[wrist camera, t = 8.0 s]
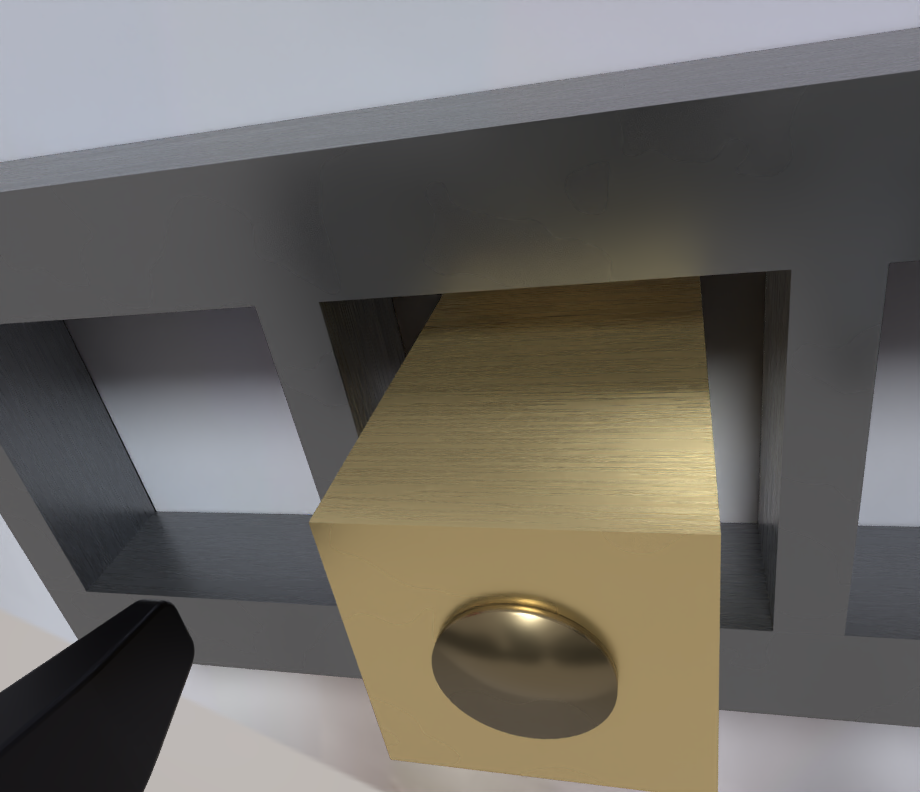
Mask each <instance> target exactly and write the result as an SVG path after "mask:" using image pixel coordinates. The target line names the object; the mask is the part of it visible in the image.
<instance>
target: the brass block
mask: <svg viewBox="0 0 920 792" xmlns="http://www.w3.org/2000/svg"><path fill="white" fill-rule="evenodd" d="M309 525H310V528H311V531H312V534H313V537H314V540H315V543H316V545H317V548H318V551H319V554H320V557H321V560H322V563H323V566H324V569H325V571H326V574H327V577H328V580H329V583H330V586H331V589H332V592H333V595H334V597H335V600H336V603H337V606H338V609H339V612H340V615H341V618H342V621H343V623H344V626H345V629H346V632H347V635H348V638H349V641H350V644H351V646H352V649H353V652H354V655H355V658H356V661H357V664H358V667H359V670H360V672H361V675H362V678H363V681H364V684H365V687H366V690H367V693H368V696H369V698H370V701H371V704H372V707H373V710H374V713H375V716H376V719H377V722H378V724H379V727H380V730H381V733H382V736H383V739H384V742H385V745H386V748H387V750H388V753H389V756H390V759H391V760H399V761H407V762H415V763H423V764H431V765H439V766H448V767H456V768H464V769H472V770H480V771H488V772H496V773H504V774H513V775H521V776H529V777H537V778H545V779H553V780H561V781H570V782H578V783H586V784H594V785H602V786H610V787H618V788H626V789H635V790H643V791H651V792H718V726H719V646H720V565H721V530H720V518H719V506H718V494H717V481H716V469H715V457H714V445H713V433H712V421H711V408H710V396H709V384H708V372H707V360H706V348H705V335H704V323H703V311H702V299H701V287H700V276H690V277H676V278H661V279H647V280H632V281H618V282H603V283H589V284H574V285H560V286H545V287H531V288H516V289H502V290H487V291H473V292H458V293H444V294H443V295H442V297H441V299H440V301H439V302H438V304H437V306H436V307H435V309H434V311H433V312H432V314H431V316H430V318H429V319H428V321H427V323H426V324H425V326H424V328H423V329H422V331H421V333H420V334H419V336H418V338H417V340H416V341H415V343H414V345H413V346H412V348H411V350H410V351H409V353H408V355H407V357H406V358H405V360H404V362H403V363H402V365H401V367H400V368H399V370H398V372H397V373H396V375H395V377H394V379H393V380H392V382H391V384H390V385H389V387H388V389H387V390H386V392H385V394H384V395H383V397H382V399H381V401H380V402H379V404H378V406H377V407H376V409H375V411H374V412H373V414H372V416H371V418H370V419H369V421H368V423H367V424H366V426H365V428H364V429H363V431H362V433H361V434H360V436H359V438H358V440H357V441H356V443H355V445H354V446H353V448H352V450H351V451H350V453H349V455H348V456H347V458H346V460H345V462H344V463H343V465H342V467H341V468H340V470H339V472H338V473H337V475H336V477H335V479H334V480H333V482H332V484H331V485H330V487H329V489H328V490H327V492H326V494H325V495H324V497H323V499H322V501H321V502H320V504H319V506H318V507H317V509H316V511H315V512H314V514H313V516H312V517H311V519H310V521H309Z"/></svg>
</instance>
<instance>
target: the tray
mask: <svg viewBox="0 0 920 792" xmlns="http://www.w3.org/2000/svg"><path fill="white" fill-rule="evenodd" d="M908 261H920V27H918V28H911V29H904V30H898V31H891V32H884V33H877V34H870V35H864V36H857V37H850V38H843V39H836V40H829V41H823V42H816V43H809V44H802V45H795V46H789V47H782V48H775V49H768V50H761V51H755V52H748V53H741V54H734V55H727V56H721V57H714V58H707V59H700V60H693V61H687V62H680V63H673V64H666V65H659V66H653V67H646V68H639V69H632V70H625V71H619V72H612V73H605V74H598V75H591V76H585V77H578V78H571V79H564V80H557V81H551V82H544V83H537V84H530V85H523V86H517V87H510V88H503V89H496V90H489V91H483V92H476V93H469V94H462V95H455V96H449V97H442V98H435V99H428V100H421V101H415V102H408V103H401V104H394V105H387V106H381V107H374V108H367V109H360V110H353V111H346V112H340V113H333V114H326V115H319V116H312V117H306V118H299V119H292V120H285V121H278V122H272V123H265V124H258V125H251V126H244V127H238V128H231V129H224V130H217V131H210V132H204V133H197V134H190V135H183V136H176V137H170V138H163V139H156V140H149V141H142V142H136V143H129V144H122V145H115V146H108V147H102V148H95V149H88V150H81V151H74V152H68V153H61V154H54V155H47V156H40V157H34V158H27V159H20V160H13V161H6V162H0V514H1V516H2V517H3V519H4V520H5V522H6V524H7V525H8V527H9V529H10V530H11V532H12V533H13V535H14V537H15V538H16V540H17V541H18V543H19V545H20V546H21V548H22V550H23V551H24V553H25V554H26V556H27V558H28V559H29V561H30V562H31V564H32V566H33V567H34V569H35V571H36V572H37V574H38V575H39V577H40V579H41V580H42V582H43V583H44V585H45V587H46V588H47V590H48V592H49V593H50V595H51V596H52V598H53V600H54V601H55V603H56V604H57V606H58V608H59V609H60V611H61V613H62V614H63V616H64V617H65V619H66V621H67V622H68V624H69V625H70V627H71V629H72V630H73V632H74V634H75V635H76V637H77V638H78V640H79V639H81V638H82V637H84V636H85V635H87V634H88V633H90V632H91V631H93V630H94V629H96V628H97V627H98V626H100V625H101V624H103V623H104V622H106V621H107V620H109V619H110V618H112V617H113V616H115V615H116V614H118V613H119V612H121V611H122V610H124V609H125V608H127V607H128V606H130V605H131V604H133V603H134V602H136V601H138V600H142V599H158V600H168V601H170V602H171V603H173V604H174V605H175V607H176V608H177V610H178V612H179V614H180V616H181V618H182V620H183V622H184V624H185V626H186V628H187V630H188V632H189V634H190V636H191V638H192V640H193V642H194V648H195V654H194V660H193V663H192V664H200V665H212V666H223V667H235V668H246V669H258V670H269V671H281V672H292V673H303V674H315V675H326V676H338V677H349V678H361V679H363V678H362V675H361V672H360V670H359V667H358V664H357V661H356V658H355V655H354V652H353V649H352V646H351V644H350V641H349V638H348V635H347V632H346V629H345V626H344V623H343V621H342V618H341V615H340V612H339V609H338V606H337V603H336V600H335V597H334V595H333V592H332V589H331V586H330V583H329V580H328V577H327V574H326V571H325V569H324V566H323V563H322V560H321V557H320V554H319V551H318V548H317V545H316V543H315V540H314V537H313V534H312V531H311V528H310V525H309V521H310V519H311V517H312V516H313V515H299V514H250V513H200V512H155V510H154V508H153V506H152V504H151V502H150V500H149V498H148V496H147V494H146V492H145V490H144V488H143V485H142V483H141V481H140V479H139V477H138V475H137V473H136V471H135V469H134V467H133V465H132V463H131V461H130V459H129V457H128V455H127V452H126V450H125V448H124V446H123V444H122V442H121V440H120V438H119V436H118V434H117V432H116V430H115V428H114V426H113V424H112V422H111V419H110V417H109V415H108V413H107V411H106V409H105V407H104V405H103V403H102V401H101V399H100V397H99V395H98V393H97V391H96V389H95V387H94V384H93V382H92V380H91V378H90V376H89V374H88V372H87V370H86V368H85V366H84V364H83V362H82V360H81V358H80V356H79V354H78V351H77V349H76V347H75V345H74V343H73V341H72V339H71V337H70V335H69V333H68V331H67V329H66V327H65V325H64V323H63V321H62V320H66V319H81V318H95V317H110V316H124V315H139V314H154V313H168V312H183V311H197V310H212V309H226V308H241V307H255V308H256V311H257V314H258V317H259V320H260V323H261V326H262V329H263V332H264V335H265V338H266V341H267V344H268V347H269V350H270V353H271V356H272V358H273V361H274V364H275V367H276V370H277V373H278V376H279V379H280V382H281V385H282V388H283V391H284V394H285V397H286V400H287V403H288V406H289V409H290V411H291V414H292V417H293V420H294V423H295V426H296V429H297V432H298V435H299V438H300V441H301V444H302V447H303V450H304V453H305V456H306V459H307V461H308V464H309V467H310V470H311V473H312V476H313V479H314V482H315V485H316V488H317V491H318V494H319V497H320V500H321V501H322V499H323V497H324V495H325V494H326V492H327V490H328V489H329V487H330V485H331V484H332V482H333V480H334V479H335V477H336V475H337V473H338V472H339V470H340V468H341V467H342V465H343V463H344V462H345V460H346V458H347V456H348V455H349V453H350V451H351V450H352V448H353V446H354V445H355V443H356V441H357V440H358V438H359V436H360V434H361V433H362V431H363V429H364V428H365V426H366V424H367V423H368V421H369V419H370V418H371V416H372V414H373V412H374V411H375V409H376V407H377V406H378V404H379V402H380V401H381V399H382V397H383V395H384V394H385V392H386V390H387V389H388V387H389V385H390V384H391V382H392V380H393V379H394V377H395V375H396V373H397V372H398V370H399V368H400V367H401V365H402V363H403V362H404V360H405V353H404V349H403V345H402V341H401V337H400V332H399V328H398V324H397V320H396V316H395V311H394V307H393V303H392V299H391V297H400V296H415V295H429V294H444V293H458V292H473V291H487V290H502V289H516V288H531V287H545V286H560V285H574V284H589V283H603V282H618V281H632V280H647V279H661V278H676V277H690V276H705V275H719V274H734V273H748V272H763V271H766V291H765V321H764V352H763V382H762V413H761V443H760V474H759V504H758V524H746V523H720V530H721V565H720V646H719V710H728V711H740V712H751V713H763V714H774V715H786V716H797V717H809V718H820V719H832V720H843V721H855V722H866V723H878V724H889V725H900V726H912V727H920V527H895V526H858V519H859V511H860V502H861V494H862V486H863V477H864V469H865V460H866V452H867V444H868V435H869V427H870V419H871V410H872V402H873V394H874V385H875V377H876V368H877V360H878V352H879V343H880V335H881V327H882V318H883V310H884V302H885V293H886V285H887V277H888V268H889V263H894V262H908Z"/></svg>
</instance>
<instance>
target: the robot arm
mask: <svg viewBox="0 0 920 792" xmlns="http://www.w3.org/2000/svg"><path fill="white" fill-rule="evenodd" d="M194 654H195V648H194V642H193V640H192V638H191V636H190V634H189V632H188V630H187V628H186V626H185V624H184V622H183V620H182V618H181V616H180V614H179V612H178V610H177V608H176V607H175V605H174V604H173V603H171V602H170V601H168V600H158V599H142V600H138V601H136V602H134V603H133V604H131V605H130V606H128V607H127V608H125V609H124V610H122V611H121V612H119V613H118V614H116V615H115V616H113V617H112V618H110V619H109V620H107V621H106V622H104V623H103V624H101V625H100V626H98V627H97V628H96V629H94V630H93V631H91V632H90V633H88V634H87V635H85V636H84V637H82V638H81V639H79V640H78V641H76V642H75V643H73V644H72V645H70V646H69V647H67V648H66V649H64V650H63V651H61V652H60V653H58V654H57V655H55V656H54V657H52V658H51V659H49V660H48V661H46V662H45V663H43V664H42V665H40V666H39V667H37V668H36V669H34V670H33V671H31V672H30V673H28V674H27V675H25V676H24V677H22V678H21V679H19V680H18V681H16V682H15V683H14V684H12V685H10V686H9V687H8V688H6V689H5V690H3V691H2V692H0V792H144V789H145V787H146V785H147V783H148V780H149V778H150V776H151V773H152V771H153V768H154V766H155V763H156V761H157V758H158V756H159V753H160V750H161V747H162V745H163V742H164V739H165V737H166V734H167V731H168V729H169V726H170V723H171V720H172V718H173V715H174V712H175V710H176V707H177V704H178V701H179V699H180V696H181V693H182V691H183V688H184V685H185V682H186V680H187V677H188V674H189V672H190V669H191V666H192V663H193V660H194Z"/></svg>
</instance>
